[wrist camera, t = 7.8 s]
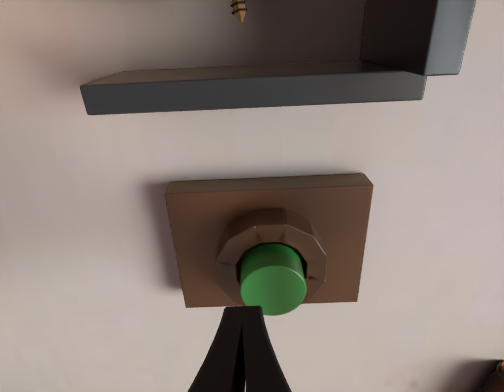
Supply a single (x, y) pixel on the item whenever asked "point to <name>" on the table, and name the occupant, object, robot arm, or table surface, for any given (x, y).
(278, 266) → the button
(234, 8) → the game die
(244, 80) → the cubby
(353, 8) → the table surface
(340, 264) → the box
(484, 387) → the sunglasses case
